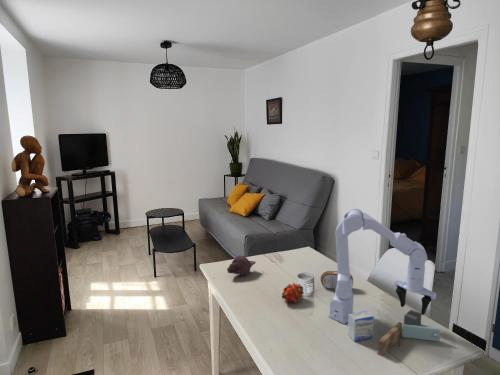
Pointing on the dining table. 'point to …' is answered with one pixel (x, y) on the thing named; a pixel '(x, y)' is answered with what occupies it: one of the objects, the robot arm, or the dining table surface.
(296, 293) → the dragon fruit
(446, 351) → the dining table surface
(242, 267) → the purple toy animal
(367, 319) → the medicine box
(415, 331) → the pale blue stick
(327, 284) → the tin
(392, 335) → the brown wooden plank
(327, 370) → the dining table surface
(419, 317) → the dark grey block
